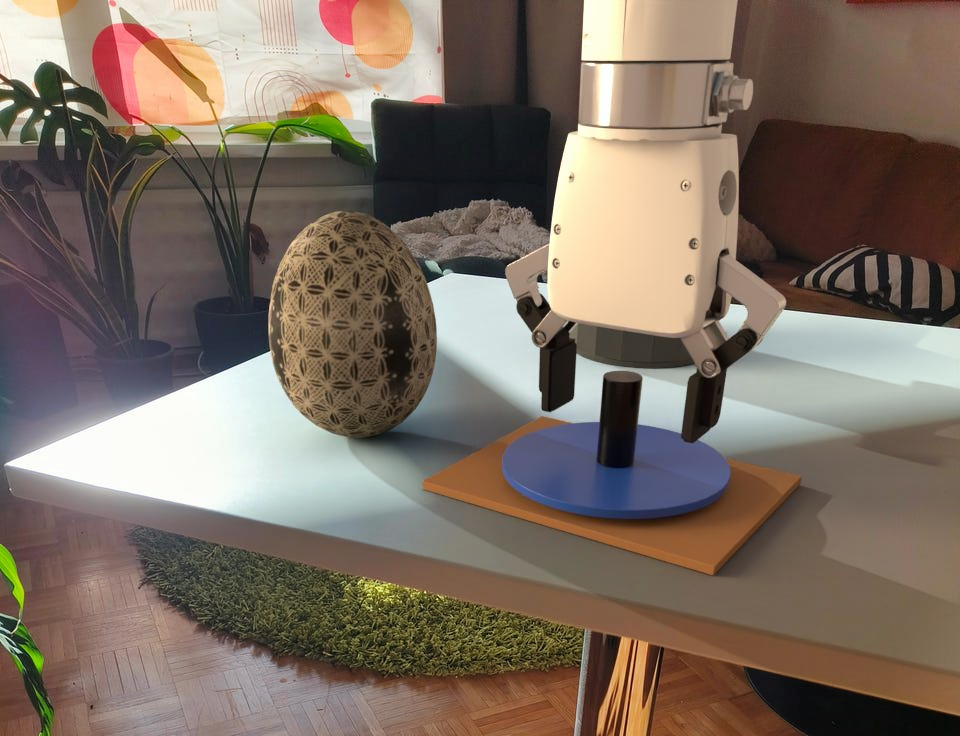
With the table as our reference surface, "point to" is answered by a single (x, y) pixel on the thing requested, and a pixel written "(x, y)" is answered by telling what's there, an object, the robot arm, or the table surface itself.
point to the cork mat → (673, 539)
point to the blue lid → (616, 463)
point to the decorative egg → (352, 326)
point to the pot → (629, 348)
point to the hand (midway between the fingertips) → (624, 420)
